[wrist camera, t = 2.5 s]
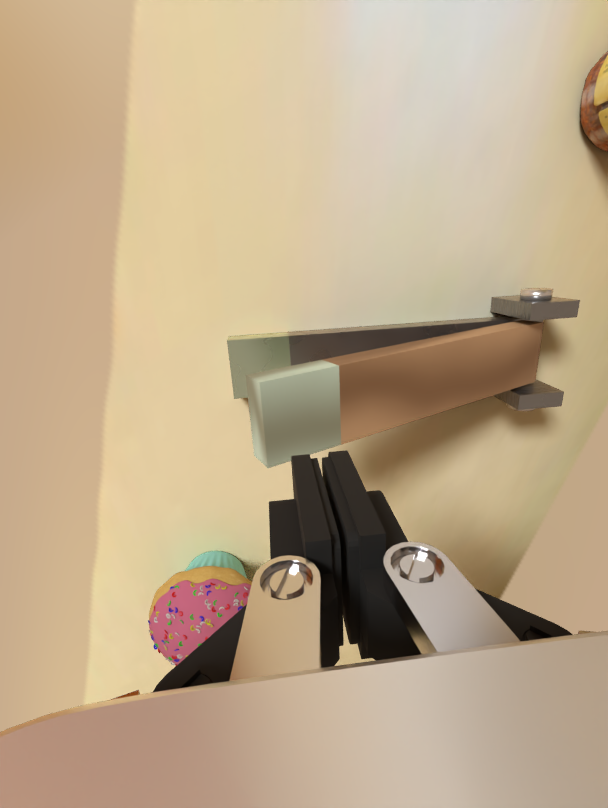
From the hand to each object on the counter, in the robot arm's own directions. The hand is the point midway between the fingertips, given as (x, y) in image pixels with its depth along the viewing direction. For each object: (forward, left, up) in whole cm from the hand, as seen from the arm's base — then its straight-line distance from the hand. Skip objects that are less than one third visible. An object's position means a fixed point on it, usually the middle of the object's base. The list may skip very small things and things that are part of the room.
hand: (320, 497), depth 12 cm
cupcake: (+18, -7, -18) cm, 26 cm away
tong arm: (0, +7, -11) cm, 13 cm away
